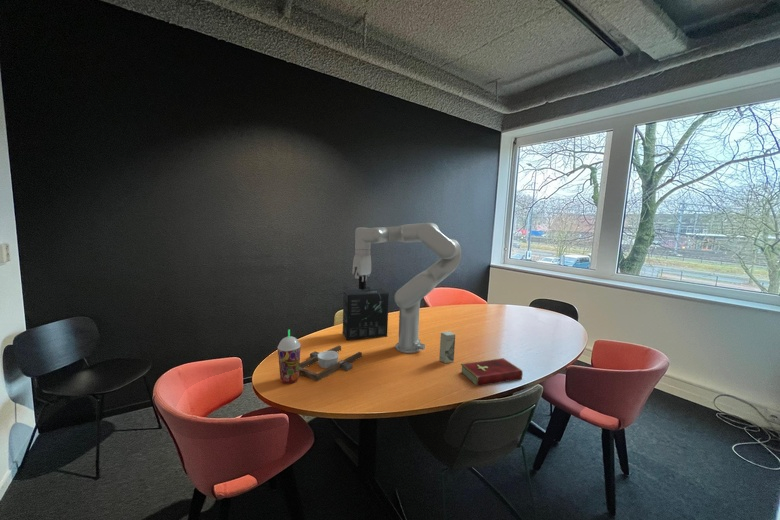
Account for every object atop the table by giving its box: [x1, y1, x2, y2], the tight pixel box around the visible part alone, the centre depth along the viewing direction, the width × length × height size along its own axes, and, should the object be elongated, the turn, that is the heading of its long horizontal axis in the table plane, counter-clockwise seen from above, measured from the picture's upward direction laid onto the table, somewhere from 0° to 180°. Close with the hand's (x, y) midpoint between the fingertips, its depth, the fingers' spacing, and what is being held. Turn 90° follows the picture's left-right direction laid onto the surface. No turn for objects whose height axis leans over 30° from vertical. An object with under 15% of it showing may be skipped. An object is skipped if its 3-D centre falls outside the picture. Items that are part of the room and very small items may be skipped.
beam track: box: [299, 345, 363, 382], centre depth 137 cm, size 22×28×2 cm
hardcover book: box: [460, 357, 524, 387], centre depth 131 cm, size 12×21×4 cm, turn 108°
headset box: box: [342, 286, 390, 341], centre depth 171 cm, size 22×12×26 cm, turn 111°
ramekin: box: [317, 350, 339, 369], centre depth 137 cm, size 9×9×4 cm
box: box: [438, 330, 456, 364], centre depth 142 cm, size 5×4×13 cm
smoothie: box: [277, 329, 302, 384], centre depth 121 cm, size 8×8×20 cm
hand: (362, 288), depth 161 cm, fingers closed
